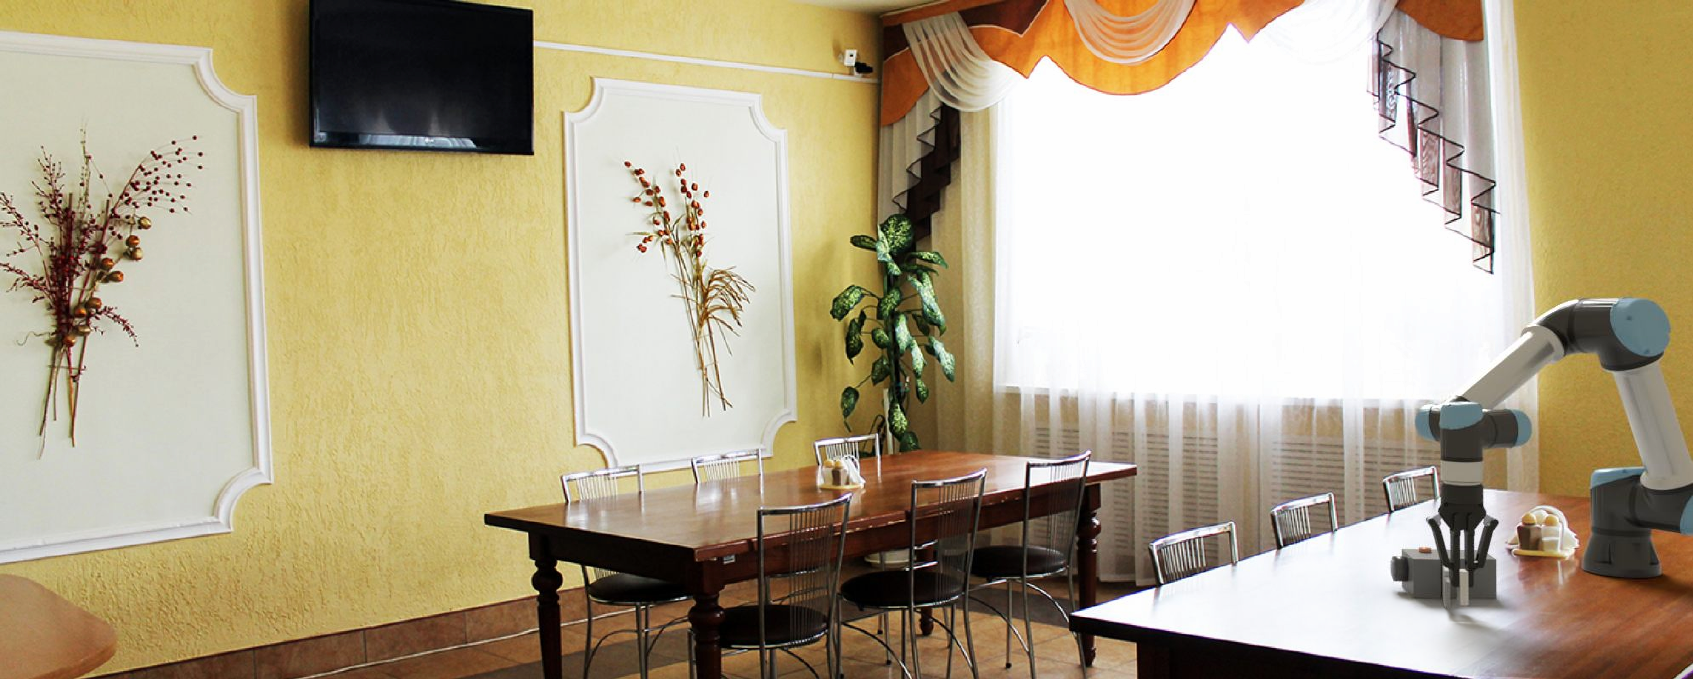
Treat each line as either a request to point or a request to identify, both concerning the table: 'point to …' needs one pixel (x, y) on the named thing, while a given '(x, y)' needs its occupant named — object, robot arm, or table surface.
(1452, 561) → the robot arm
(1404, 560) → the housing
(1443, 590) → the side door
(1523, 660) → the table surface
